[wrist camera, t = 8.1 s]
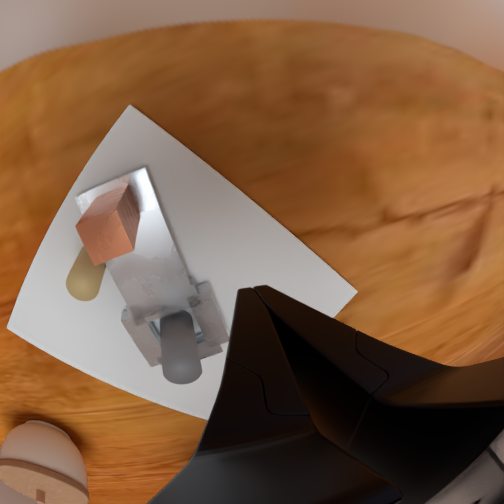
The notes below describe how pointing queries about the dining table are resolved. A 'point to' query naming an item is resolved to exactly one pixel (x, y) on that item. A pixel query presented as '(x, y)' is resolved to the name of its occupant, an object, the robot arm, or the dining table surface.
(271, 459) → the robot arm
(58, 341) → the jig
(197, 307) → the arm
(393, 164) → the dining table surface
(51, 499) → the lidded jar
